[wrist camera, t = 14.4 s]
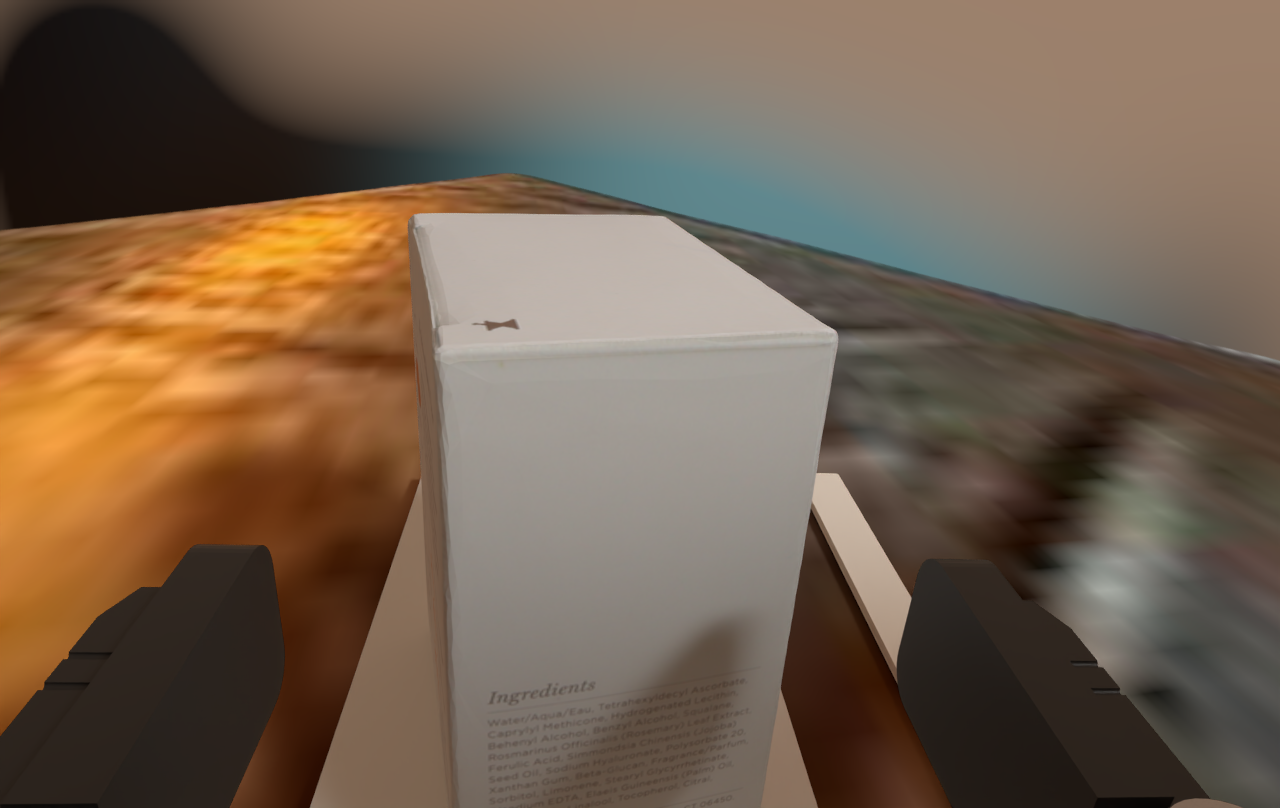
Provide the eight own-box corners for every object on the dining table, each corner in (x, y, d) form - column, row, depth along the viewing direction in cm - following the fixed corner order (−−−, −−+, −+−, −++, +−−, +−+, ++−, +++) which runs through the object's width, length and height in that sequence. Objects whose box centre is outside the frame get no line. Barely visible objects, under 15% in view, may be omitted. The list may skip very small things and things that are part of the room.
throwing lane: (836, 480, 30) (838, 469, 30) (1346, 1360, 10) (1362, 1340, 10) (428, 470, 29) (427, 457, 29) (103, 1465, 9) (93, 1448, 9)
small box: (757, 863, 15) (857, 334, 11) (451, 934, 14) (429, 348, 9) (638, 598, 22) (671, 209, 18) (426, 625, 21) (406, 206, 16)
